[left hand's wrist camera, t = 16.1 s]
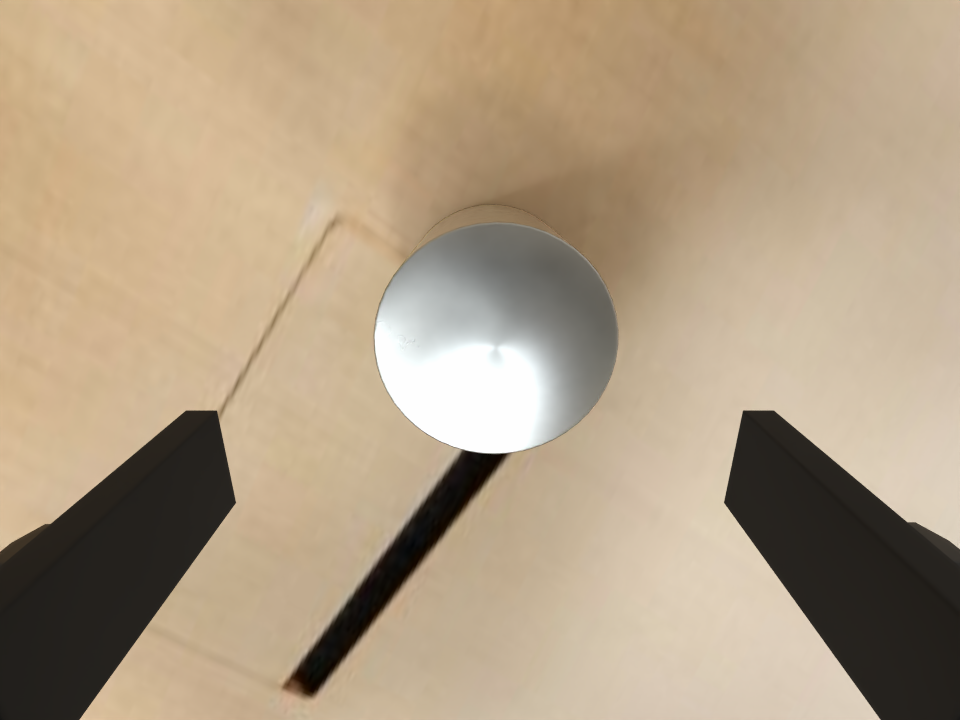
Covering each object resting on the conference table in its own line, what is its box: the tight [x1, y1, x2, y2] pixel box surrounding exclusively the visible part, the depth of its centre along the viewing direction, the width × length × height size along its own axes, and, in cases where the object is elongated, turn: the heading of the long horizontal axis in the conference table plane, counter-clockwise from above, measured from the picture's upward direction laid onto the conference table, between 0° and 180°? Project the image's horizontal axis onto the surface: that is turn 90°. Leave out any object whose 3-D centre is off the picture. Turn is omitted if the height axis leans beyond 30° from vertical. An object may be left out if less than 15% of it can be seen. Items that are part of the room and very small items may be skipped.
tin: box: [374, 205, 618, 454], centre depth 23 cm, size 9×9×9 cm
